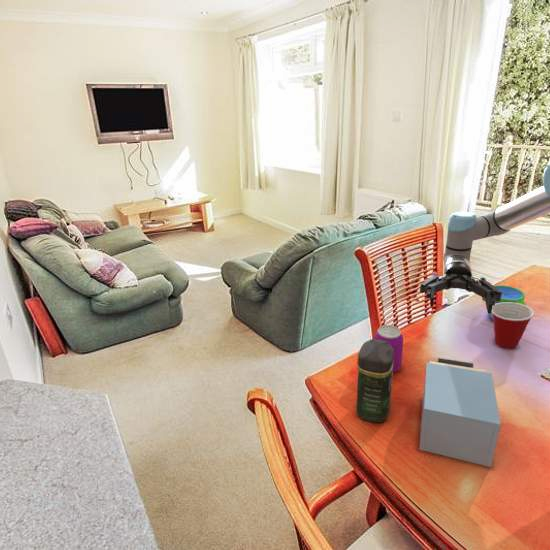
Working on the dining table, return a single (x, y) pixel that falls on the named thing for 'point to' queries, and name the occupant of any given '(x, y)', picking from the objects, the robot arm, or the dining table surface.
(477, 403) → the cabinet
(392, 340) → the beverage can
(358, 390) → the coffee jar
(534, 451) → the dining table surface
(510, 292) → the snack cup
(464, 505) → the dining table surface
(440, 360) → the drawer
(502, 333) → the plastic cup
